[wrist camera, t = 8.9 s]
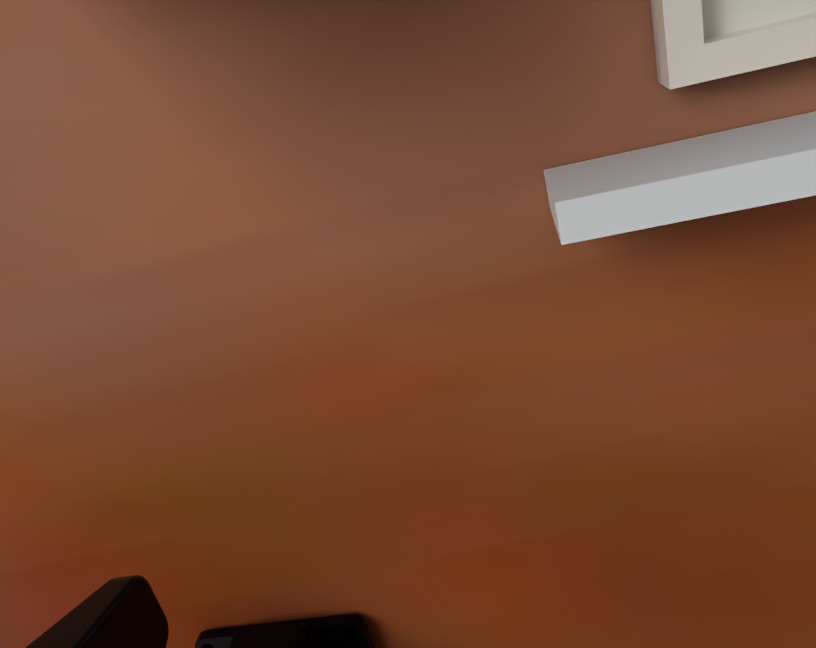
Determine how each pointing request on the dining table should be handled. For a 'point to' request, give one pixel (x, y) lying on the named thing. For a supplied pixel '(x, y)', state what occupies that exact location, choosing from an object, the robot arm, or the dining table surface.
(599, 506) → the dining table surface
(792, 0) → the coaster
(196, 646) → the robot arm
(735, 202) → the wall
